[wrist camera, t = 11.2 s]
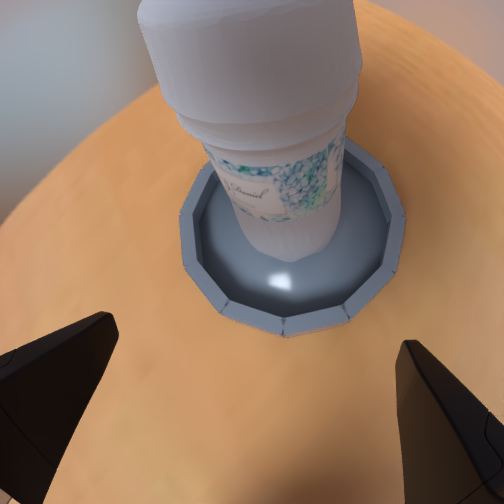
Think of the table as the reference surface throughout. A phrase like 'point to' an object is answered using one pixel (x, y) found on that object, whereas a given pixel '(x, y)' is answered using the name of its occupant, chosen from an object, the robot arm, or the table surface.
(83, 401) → the robot arm
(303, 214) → the bottle
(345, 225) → the bowl
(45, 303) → the table surface
